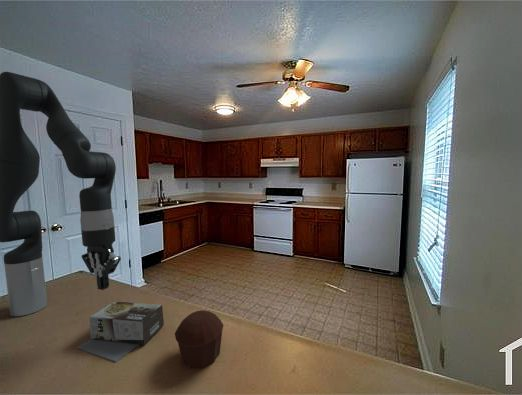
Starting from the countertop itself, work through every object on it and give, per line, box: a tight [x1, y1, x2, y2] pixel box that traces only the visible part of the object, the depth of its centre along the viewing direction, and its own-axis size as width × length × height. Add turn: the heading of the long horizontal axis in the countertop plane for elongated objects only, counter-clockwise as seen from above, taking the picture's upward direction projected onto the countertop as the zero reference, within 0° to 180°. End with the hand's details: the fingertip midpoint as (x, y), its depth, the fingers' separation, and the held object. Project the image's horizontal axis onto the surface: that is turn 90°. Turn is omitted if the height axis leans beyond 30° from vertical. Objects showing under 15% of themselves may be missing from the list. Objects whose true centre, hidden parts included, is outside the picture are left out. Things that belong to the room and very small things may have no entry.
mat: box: [77, 338, 140, 363], centre depth 68 cm, size 14×14×1 cm
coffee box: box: [89, 301, 165, 346], centre depth 69 cm, size 9×6×16 cm
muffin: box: [174, 310, 224, 369], centre depth 60 cm, size 12×11×10 cm
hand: (103, 288), depth 69 cm, fingers closed
